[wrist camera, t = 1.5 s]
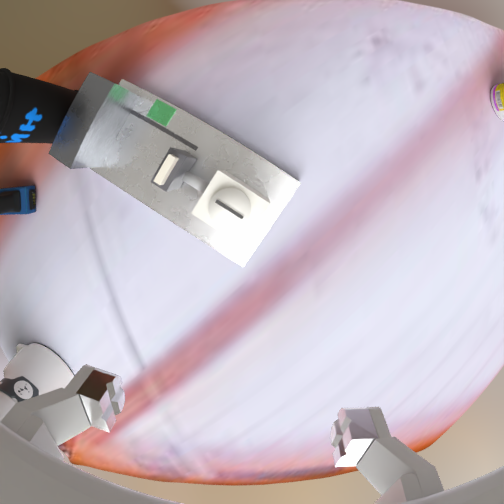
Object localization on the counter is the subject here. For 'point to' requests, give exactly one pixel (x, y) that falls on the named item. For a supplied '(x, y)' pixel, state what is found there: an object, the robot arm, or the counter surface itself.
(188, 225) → the base
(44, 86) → the black water bottle
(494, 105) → the supplement bottle
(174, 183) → the block
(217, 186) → the gauge body
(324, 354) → the counter surface
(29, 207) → the handheld scanner
